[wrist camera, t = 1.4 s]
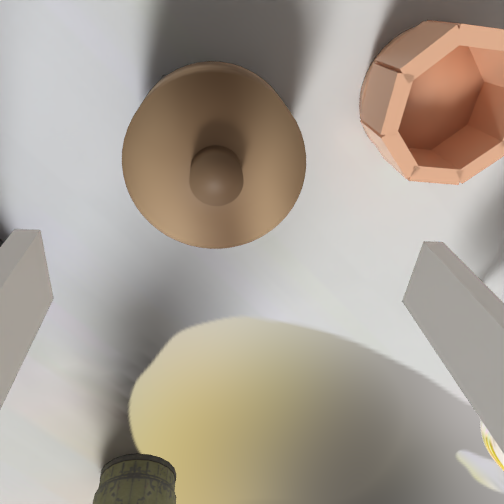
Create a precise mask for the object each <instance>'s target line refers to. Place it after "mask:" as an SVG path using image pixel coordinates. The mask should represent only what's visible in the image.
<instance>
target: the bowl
mask: <svg viewBox="0 0 504 504" xmlns="http://www.w3.org/2000/svg"><path fill="white" fill-rule="evenodd" d="M359 109H360V119H361V121H360V122H361V123H362V125H363V128H364V130H365V132H366V134H367V136H368V137H369V139H370V140H371V141H372V143H374V144H375V145H376V147H377V149H378V150H379V152H380V153H381V155H382V156H383V158H384V159H385V160H386V161H387V162H388V163H389V164H390V165H391V166H393V167H394V168H395V169H396V170H397V171H398V172H399V173H400V174H401V175H402V176H403V177H405V178H406V179H408V180H409V181H418V182H430V183H442V184H454V185H459V182H460V183H462V184H463V183H464V182H466V181H467V180H469V179H470V178H472V177H473V176H475V175H476V174H478V173H479V172H481V171H482V170H484V169H485V168H487V167H488V166H490V165H491V164H493V163H494V162H496V161H497V160H499V159H500V158H502V157H503V156H504V29H497V28H490V27H483V26H475V25H468V24H461V23H451V22H441V21H432V20H427V22H426V21H423V22H422V23H421V24H419V25H418V26H416V27H413V28H411V29H408V30H407V31H405V32H403V33H401V34H400V35H398V36H397V37H395V38H394V39H393V40H392V41H390V42H389V43H388V44H387V45H386V46H385V47H384V48H383V49H382V50H381V52H380V53H379V54H378V55H377V57H376V58H375V59H374V61H373V62H372V64H371V66H370V68H369V69H368V71H367V74H366V76H365V78H364V81H363V85H362V88H361V93H360V102H359Z"/></svg>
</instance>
